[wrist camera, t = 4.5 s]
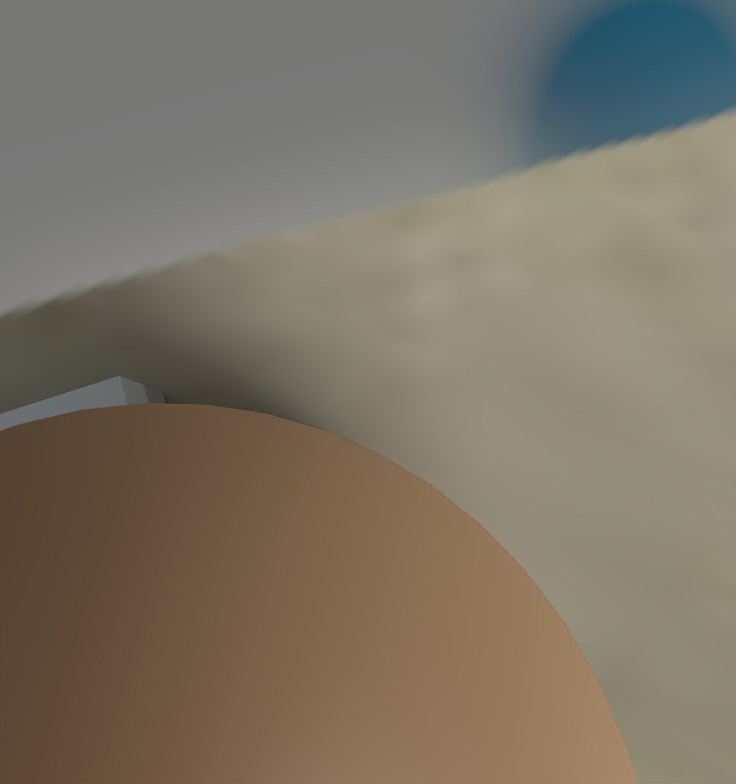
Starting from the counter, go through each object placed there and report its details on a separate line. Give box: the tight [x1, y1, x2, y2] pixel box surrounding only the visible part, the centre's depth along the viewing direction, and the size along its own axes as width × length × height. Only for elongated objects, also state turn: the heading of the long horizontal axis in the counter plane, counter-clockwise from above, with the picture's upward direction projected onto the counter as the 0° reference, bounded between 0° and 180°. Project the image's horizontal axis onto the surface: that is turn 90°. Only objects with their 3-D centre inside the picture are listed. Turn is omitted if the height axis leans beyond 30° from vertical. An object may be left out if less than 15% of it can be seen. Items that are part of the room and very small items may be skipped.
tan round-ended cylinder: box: [0, 403, 637, 784], centre depth 9 cm, size 5×5×13 cm
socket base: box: [0, 376, 166, 431], centre depth 13 cm, size 9×9×3 cm
